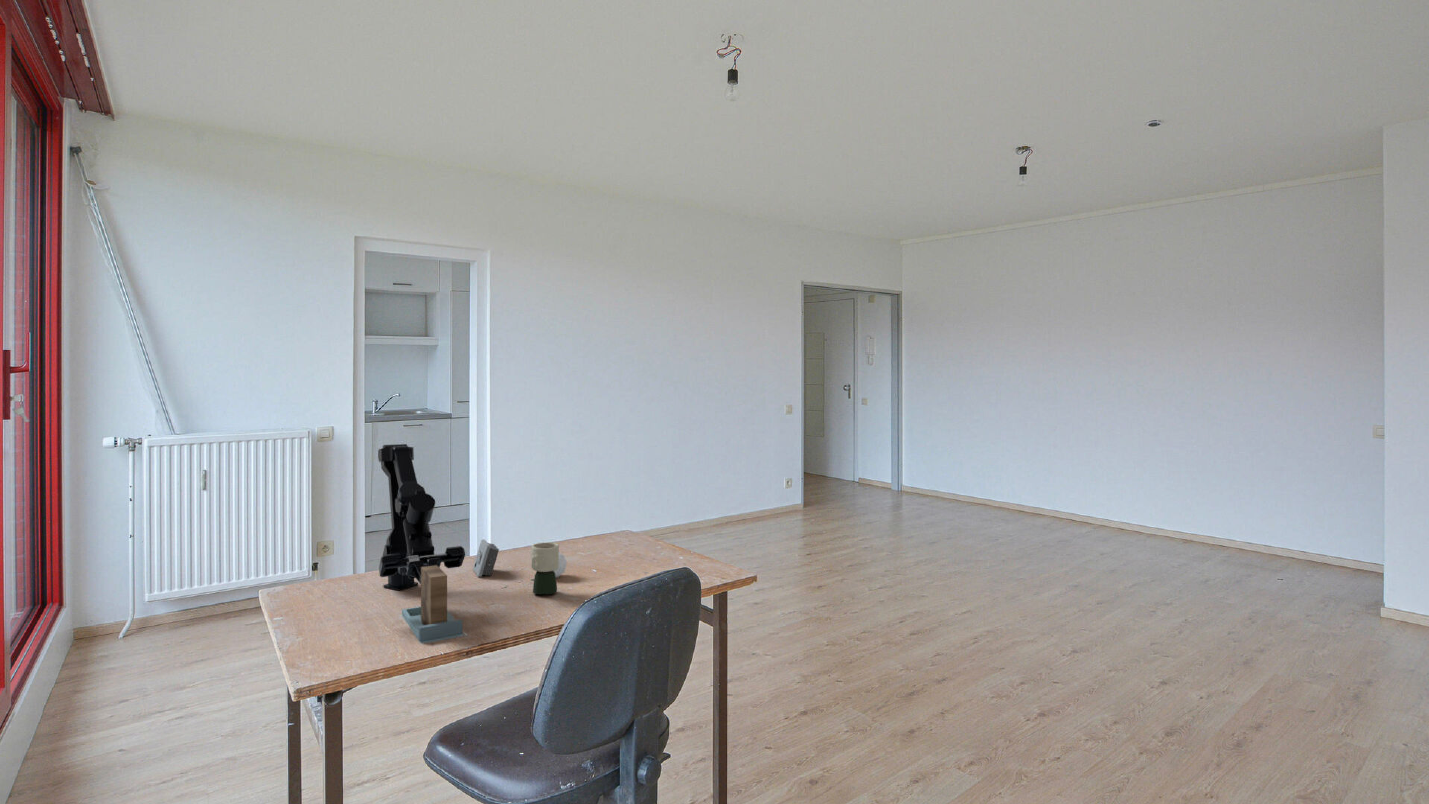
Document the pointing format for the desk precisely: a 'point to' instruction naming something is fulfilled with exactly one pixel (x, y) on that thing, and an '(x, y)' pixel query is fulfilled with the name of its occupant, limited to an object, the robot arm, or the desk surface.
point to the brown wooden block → (433, 595)
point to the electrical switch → (485, 559)
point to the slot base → (432, 626)
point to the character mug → (545, 567)
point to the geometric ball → (560, 565)
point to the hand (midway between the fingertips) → (428, 592)
